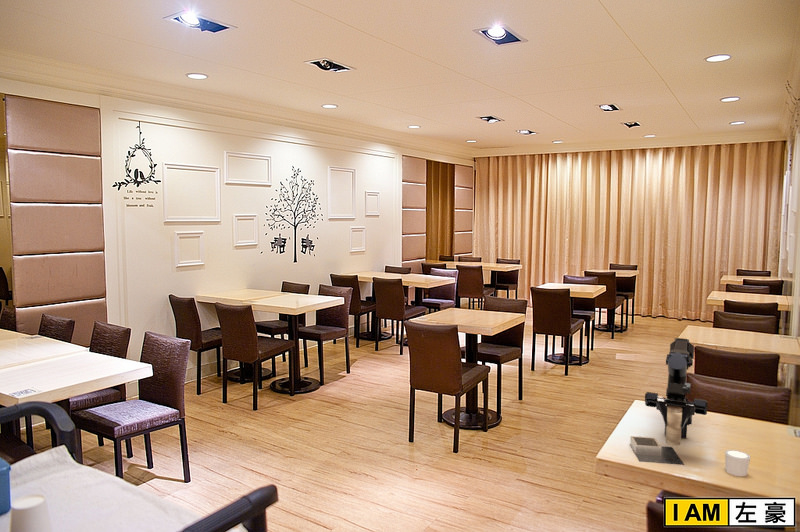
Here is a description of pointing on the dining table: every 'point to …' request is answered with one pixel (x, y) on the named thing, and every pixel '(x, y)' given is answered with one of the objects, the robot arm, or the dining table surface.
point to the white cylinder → (737, 462)
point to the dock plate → (653, 451)
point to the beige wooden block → (674, 425)
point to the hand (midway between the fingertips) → (673, 426)
